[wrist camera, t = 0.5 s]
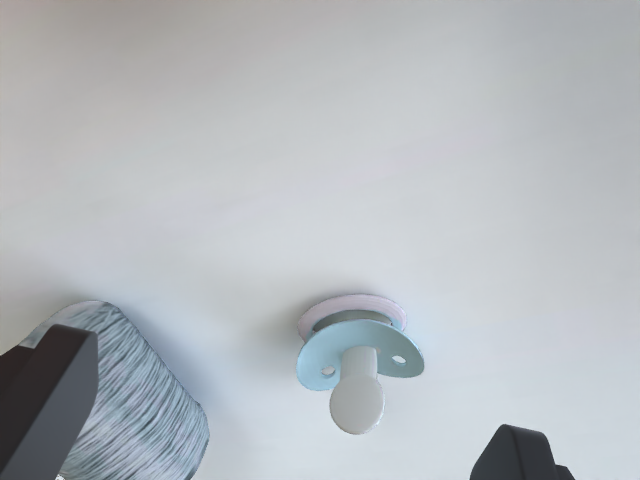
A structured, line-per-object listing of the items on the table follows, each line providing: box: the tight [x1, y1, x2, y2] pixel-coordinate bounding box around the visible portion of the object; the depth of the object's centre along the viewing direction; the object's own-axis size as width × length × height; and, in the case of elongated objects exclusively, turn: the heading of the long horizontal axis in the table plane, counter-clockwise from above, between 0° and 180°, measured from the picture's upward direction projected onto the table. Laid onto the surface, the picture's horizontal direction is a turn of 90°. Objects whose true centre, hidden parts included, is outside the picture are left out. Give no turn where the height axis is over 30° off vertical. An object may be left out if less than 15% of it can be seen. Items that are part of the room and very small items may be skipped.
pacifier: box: [296, 294, 424, 435], centre depth 30 cm, size 7×6×6 cm
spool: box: [18, 300, 209, 480], centre depth 33 cm, size 14×10×10 cm
